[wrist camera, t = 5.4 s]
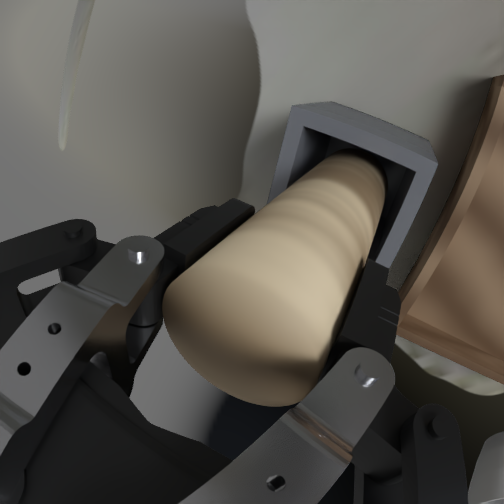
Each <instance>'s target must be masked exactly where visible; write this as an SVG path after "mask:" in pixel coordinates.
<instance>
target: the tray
mask: <svg viewBox="0 0 504 504" xmlns="http://www.w3.org/2000/svg"><path fill="white" fill-rule="evenodd" d="M398 294H399V297H400V300H401V310H400V315H399V321H398V325H397V332H396V334H397V335H399V336H401V337H403V338H405V339H407V340H409V341H411V342H413V343H416V344H418V345H420V346H422V347H424V348H426V349H428V350H430V351H433V352H435V353H437V354H439V355H441V356H443V357H445V358H448V359H450V360H452V361H454V362H456V363H458V364H460V365H463V366H465V367H467V368H469V369H471V370H473V371H476V372H478V373H480V374H482V375H484V376H486V377H489V378H491V379H493V380H495V381H497V382H499V383H502V384H504V75H500V76H495V77H493V80H492V83H491V87H490V90H489V94H488V97H487V100H486V103H485V106H484V109H483V112H482V115H481V118H480V121H479V124H478V127H477V130H476V133H475V135H474V138H473V141H472V143H471V146H470V149H469V151H468V154H467V156H466V159H465V161H464V164H463V166H462V168H461V171H460V173H459V176H458V178H457V180H456V183H455V185H454V187H453V189H452V191H451V194H450V196H449V198H448V200H447V202H446V204H445V207H444V209H443V211H442V213H441V215H440V217H439V219H438V221H437V223H436V225H435V227H434V229H433V231H432V233H431V235H430V237H429V239H428V241H427V242H426V244H425V246H424V248H423V250H422V252H421V254H420V255H419V257H418V259H417V261H416V263H415V264H414V266H413V268H412V270H411V271H410V273H409V275H408V277H407V278H406V280H405V282H404V283H403V285H402V287H401V288H400V290H399V292H398Z"/></svg>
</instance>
